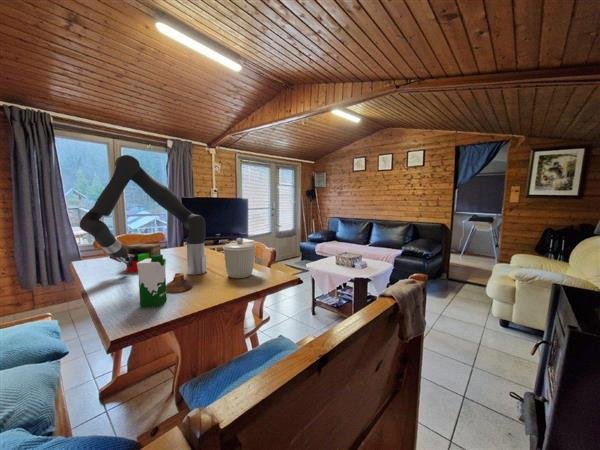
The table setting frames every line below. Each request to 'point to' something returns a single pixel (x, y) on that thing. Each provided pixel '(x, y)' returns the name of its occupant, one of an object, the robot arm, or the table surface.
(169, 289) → the bell
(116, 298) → the table surface
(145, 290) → the milk carton
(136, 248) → the brown wooden box
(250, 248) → the canister
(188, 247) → the robot arm
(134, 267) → the puzzle toy
